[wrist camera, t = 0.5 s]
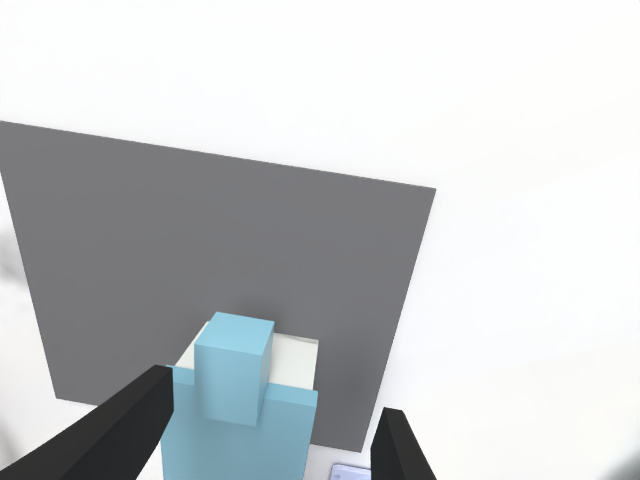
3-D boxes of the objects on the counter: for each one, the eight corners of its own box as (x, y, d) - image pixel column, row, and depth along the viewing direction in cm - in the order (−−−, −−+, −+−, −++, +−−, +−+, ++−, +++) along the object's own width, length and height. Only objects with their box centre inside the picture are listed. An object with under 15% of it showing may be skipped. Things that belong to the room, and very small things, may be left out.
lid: (298, 497, 20) (292, 544, 17) (173, 474, 20) (151, 518, 18) (329, 330, 15) (326, 366, 13) (162, 302, 15) (130, 332, 13)
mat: (360, 448, 24) (361, 452, 24) (59, 395, 25) (56, 398, 25) (434, 188, 17) (436, 189, 16) (-7, 119, 17) (-13, 119, 17)
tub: (303, 429, 24) (294, 493, 20) (206, 412, 24) (177, 472, 20) (318, 340, 21) (311, 394, 16) (206, 321, 21) (171, 369, 17)
